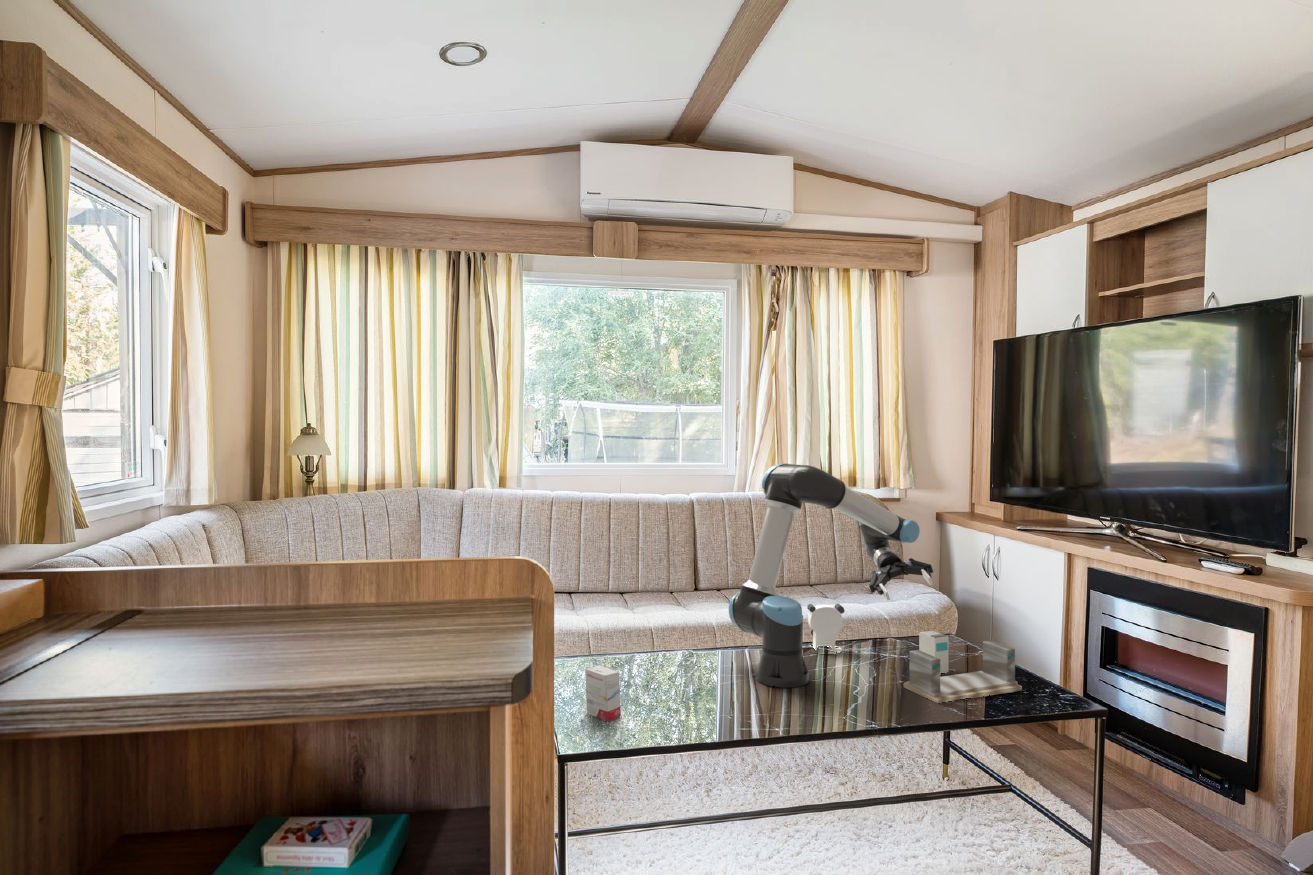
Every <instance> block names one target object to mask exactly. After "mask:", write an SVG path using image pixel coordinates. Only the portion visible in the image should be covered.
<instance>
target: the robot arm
mask: <svg viewBox="0 0 1313 875" xmlns="http://www.w3.org/2000/svg"><path fill="white" fill-rule="evenodd" d="M761 488H762V489H763V493H764V495H765V496H764V502H765V505H766V507H767V509H766V512H765V513H766V514H765V516H764V519H763V523H762V526H761V531H760V535H759V538H758V542H757V547H756V549H755V550H756V551H755V554H754V558H753V560H752V561H753V562H752V565H751V569H750V573H749V575H748V576H749V577H748V580H747V581H746V582H744V583H742V584H741V587H740V591H738V592H736V593H735V595H733V596H732V597H731V599H730V601H729V604H728V616H729V619H730V620H731V623H732V624H733V625H734V626H735V627H736V628H738V629H739V630H742V631H743V632H745V633H749V634H752V635H754V636H758V637H759V638H762V642H761V643H762V646H761V647H762V650H761V651H762V652H761V656H760V660H759V661H758V664H757V665H758V666H757V669H756V680H757V682H759V683H760V682H762V683H763V685H766V686H769V687H773V686H775V688H783V689H784V688H787V689H788V688H790V689H791V688H799V687H802V686H805V685H807V684H808V683H809V681H810V680H809V679H810V678H809V677H810V674H809V671H808V667H807V665H806V661H805V658H804V654H803V639H804V638H803V635H804V634H803V633H804V632H803V631H804V630H803V629H804V626H803V623H804V621H803V620H804V616H803V608H802V605H801V603H799V601H797V600H795V599H793V598H791V597H788V596H783V595H779V594H778V592H777V591H776V586H777V582H778V579H779V575H780V571H781V567H782V564H783V558H784V555H785V551H786V547H787V545H788V540H789V536H790V532H791V527H792V524H793V521H794V517H795V515H796V514H797V513H799V512H800V511H801V509H802V505H803V504H812V505H817V506H821V507H823V508H826V509H828V510H836V511H839V512H841V513H842V514H845V515H846V516H847V517H850V518H852V519H854V520H855V521H858V526H859V528H860V530H861V534H862V537H863V539H864V545H865V547H864V548H865V551H866V554H867V555H868V556H869V558H870V559H871V560H872V561H873V563H874V564H875V565H876V567H877V568H878V570H879V571H876V570H872V571H871V573H872V576H871V578H870V582H869V584H868V587H869V589H870V593H875V592H876V591H877V594H878V595H880V596H881V595H883V596H884V597H885V598H886V600H887V601H890V600H891V597H890V595H889V592H888V591H887V589H886V587H885V586H886V584H888V582H890V581H891V580H892V579H893V578H896V577H898V576H903V575H905V576H909V575H914V576H915V575H916V576H922V577H923V579H924V580H925V581H926V582H927V583H928V584H929V585H930V587H932V586H933V585H934V584H933V580H932V578H933V577H932V574H933V573H934V569H933V566H932V564H930V563H926V562H922V561H919V560H916V559H914V558H911V557H910V558H909V559H908V561H906V562H905V561H903V560H902V559H901V558H900V557H899V555H898V554H897V553H896V552H895V551H894V550H893V548H892V547H891V545H890V542H889V541H893V542H901V543H903V544H912V543H915V542H916V541H917V540H918V538H919V537H920V536H919V535H920V531H921V530H920V526H919V524H918V522H917V521H916V520H914V519H913V520H912V519H909V518H903V517H901V516H899V515H897V514H895V513H893V512H892V511H890V510H888V509H886V508H884V507H883V506H881V505H879V504H878V503H876V502H874V501H872V500H871V499H868V498H867V497H865V496H863V495H861V494H859V493H857V492H855V491H854V490H852V489H850V488H848V487H847V486H846V483H845V482H844V481H842V480H841V479H839V478H837V477H835V476H833V475H831V474H830V473H828V472H826V471H824V470H822V469H821V468H818V467H816V466H813V465H806V464H805V465H804V464H793V463H780V464H779V463H778V464H774V465H772V466H770V467H769V468H768V469H767V470H766V471H765V473H764V475H763V476H762V480H761ZM762 683H761V684H762Z"/></svg>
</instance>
